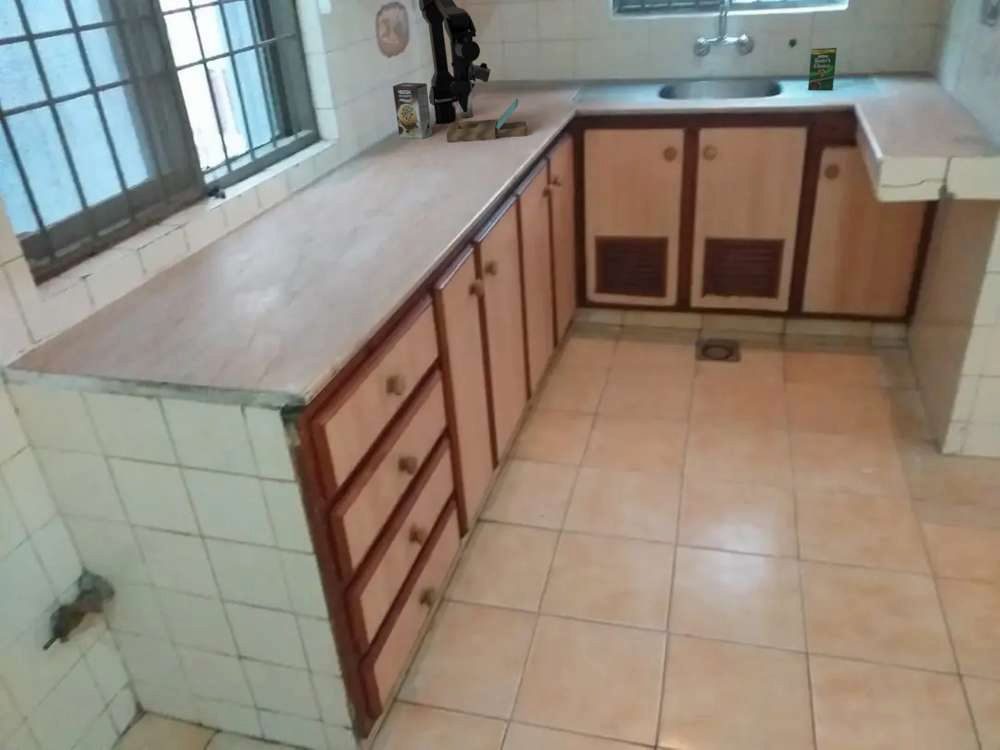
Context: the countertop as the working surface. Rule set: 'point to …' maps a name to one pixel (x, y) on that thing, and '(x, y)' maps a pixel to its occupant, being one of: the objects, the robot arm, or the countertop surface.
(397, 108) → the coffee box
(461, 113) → the peg
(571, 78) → the countertop surface
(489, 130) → the socket block
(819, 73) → the coffee box
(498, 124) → the latch flap
